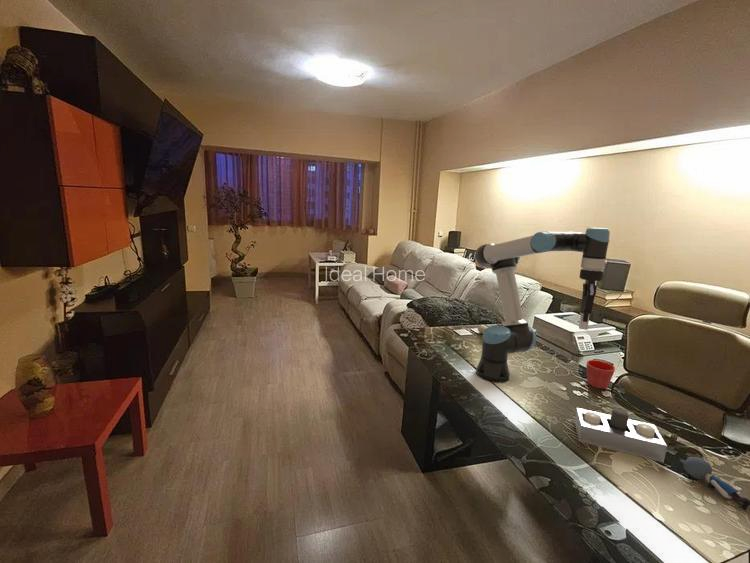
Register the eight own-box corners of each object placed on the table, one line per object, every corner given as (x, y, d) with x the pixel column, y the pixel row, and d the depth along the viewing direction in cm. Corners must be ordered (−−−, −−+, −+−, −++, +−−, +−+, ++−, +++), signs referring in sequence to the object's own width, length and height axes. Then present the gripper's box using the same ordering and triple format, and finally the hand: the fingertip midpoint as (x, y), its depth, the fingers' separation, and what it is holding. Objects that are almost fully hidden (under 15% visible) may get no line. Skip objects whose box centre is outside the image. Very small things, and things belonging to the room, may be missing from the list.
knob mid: (610, 430, 113) (613, 414, 112) (607, 423, 117) (610, 407, 116) (627, 434, 111) (630, 418, 110) (623, 426, 115) (626, 411, 114)
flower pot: (616, 391, 148) (620, 371, 147) (589, 388, 151) (592, 368, 149) (605, 380, 159) (608, 361, 157) (580, 377, 161) (583, 358, 159)
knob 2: (636, 445, 111) (639, 429, 109) (632, 437, 115) (635, 421, 114) (653, 449, 109) (657, 433, 108) (649, 441, 113) (652, 425, 112)
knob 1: (583, 432, 117) (586, 417, 115) (581, 425, 121) (584, 410, 120) (599, 436, 115) (602, 420, 114) (596, 429, 119) (599, 413, 118)
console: (578, 441, 114) (581, 425, 113) (574, 422, 125) (576, 407, 124) (663, 462, 105) (667, 445, 104) (650, 440, 116) (654, 424, 115)
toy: (748, 514, 90) (686, 468, 104) (762, 497, 89) (698, 452, 102) (734, 514, 88) (673, 466, 101) (749, 496, 86) (684, 450, 100)
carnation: (486, 344, 220) (507, 354, 185) (468, 338, 220) (486, 347, 185) (491, 327, 221) (514, 334, 186) (474, 321, 221) (493, 327, 186)
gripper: (607, 272, 119) (597, 335, 124) (600, 267, 131) (591, 325, 135) (583, 270, 122) (574, 332, 127) (578, 266, 134) (570, 322, 138)
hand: (583, 328), depth 131 cm, fingers closed
